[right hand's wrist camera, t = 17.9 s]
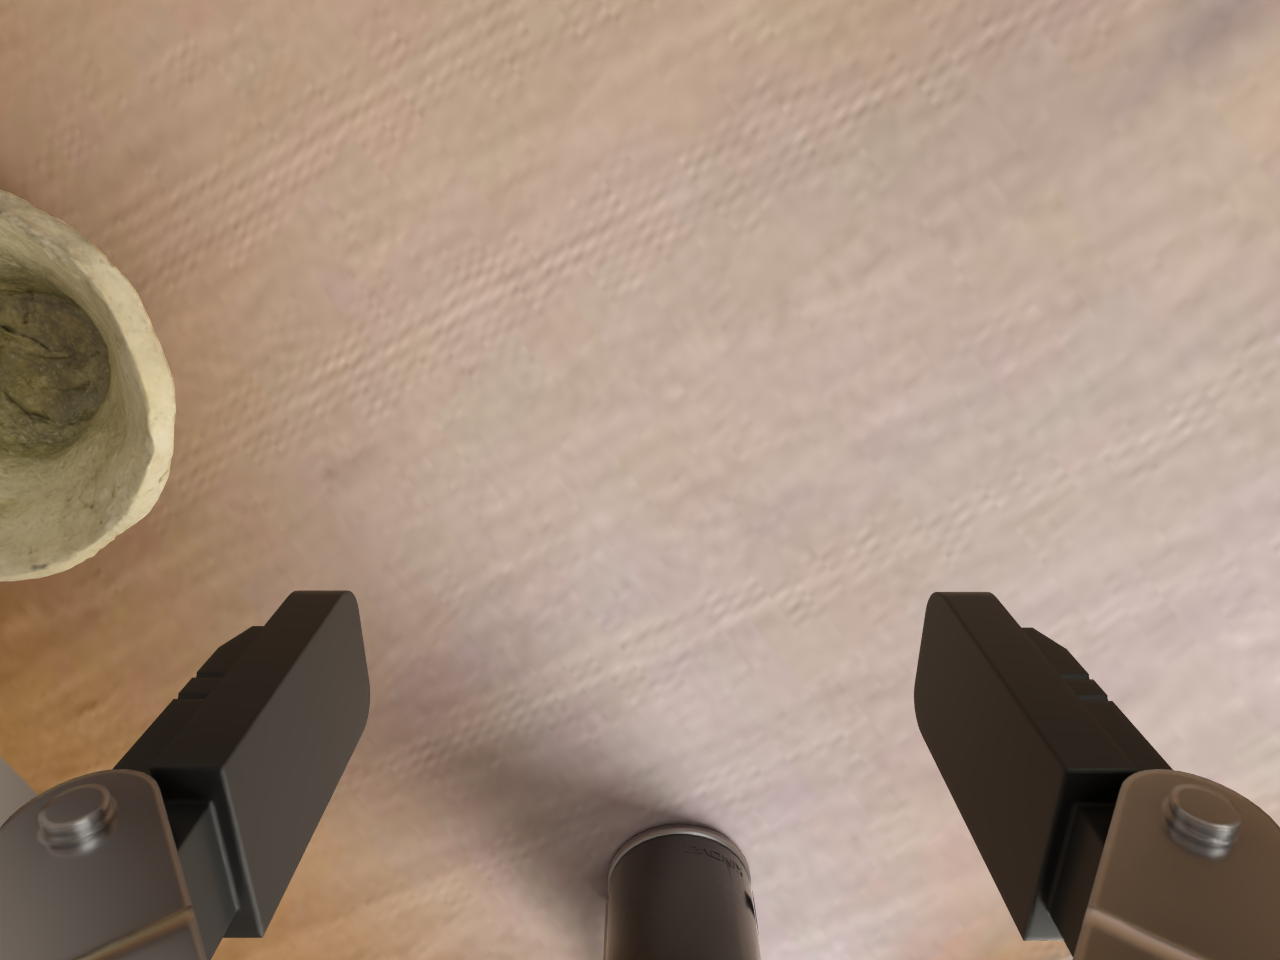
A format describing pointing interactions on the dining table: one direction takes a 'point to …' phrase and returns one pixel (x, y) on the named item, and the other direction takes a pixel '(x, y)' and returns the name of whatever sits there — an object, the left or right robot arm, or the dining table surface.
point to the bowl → (73, 397)
